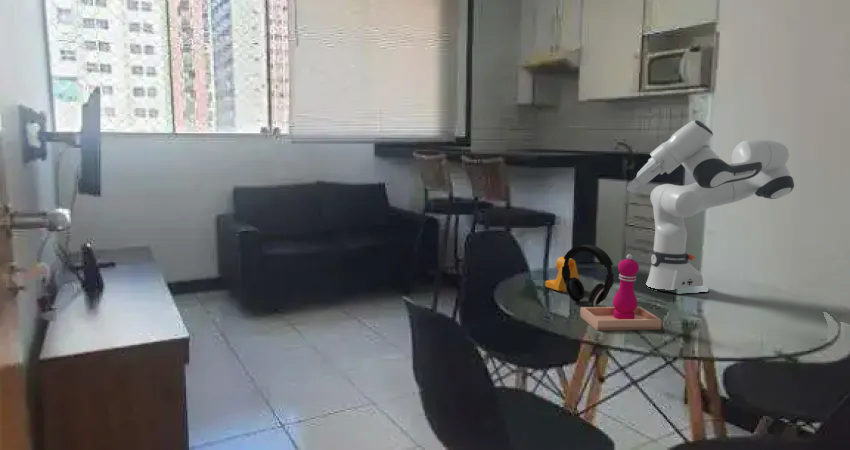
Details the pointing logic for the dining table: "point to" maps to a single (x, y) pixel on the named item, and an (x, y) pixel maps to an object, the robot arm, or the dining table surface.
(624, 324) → the tray
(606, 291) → the headphones
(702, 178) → the robot arm
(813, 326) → the dining table surface
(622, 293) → the pepper mill
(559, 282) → the bracket
